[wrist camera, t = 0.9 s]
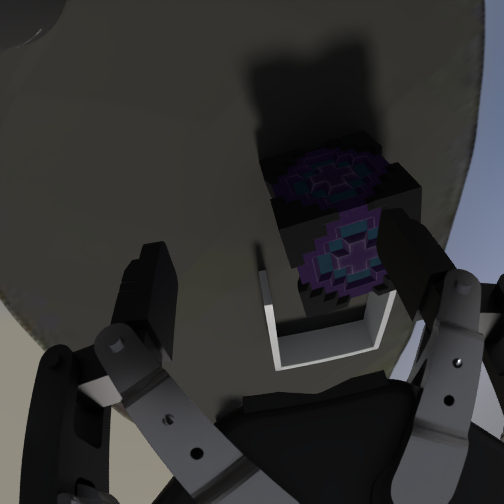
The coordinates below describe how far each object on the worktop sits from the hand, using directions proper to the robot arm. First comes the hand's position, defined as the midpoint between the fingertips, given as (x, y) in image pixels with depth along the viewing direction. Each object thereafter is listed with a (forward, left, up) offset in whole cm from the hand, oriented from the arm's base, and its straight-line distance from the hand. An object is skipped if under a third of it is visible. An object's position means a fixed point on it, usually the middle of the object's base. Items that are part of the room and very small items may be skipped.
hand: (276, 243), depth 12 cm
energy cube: (+12, +8, -22) cm, 27 cm away
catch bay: (+32, +8, -22) cm, 40 cm away
